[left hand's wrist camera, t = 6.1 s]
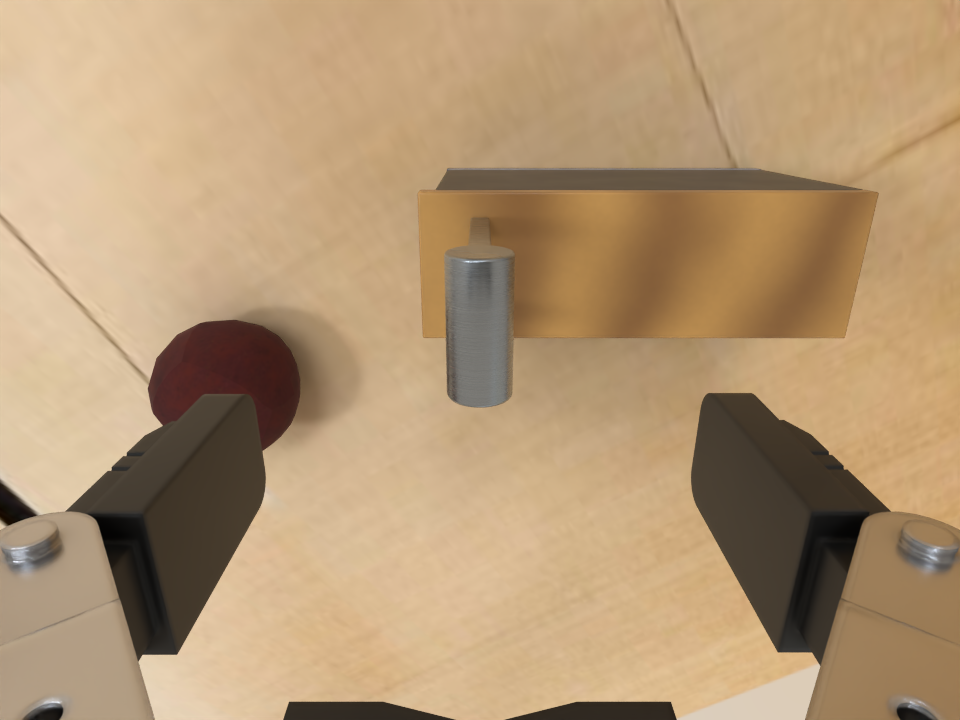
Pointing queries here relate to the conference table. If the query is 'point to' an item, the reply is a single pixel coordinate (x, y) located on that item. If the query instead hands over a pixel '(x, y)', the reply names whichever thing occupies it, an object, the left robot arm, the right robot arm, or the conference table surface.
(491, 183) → the chest
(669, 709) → the left robot arm
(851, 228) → the lid
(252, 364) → the dark red ball
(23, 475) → the conference table surface
